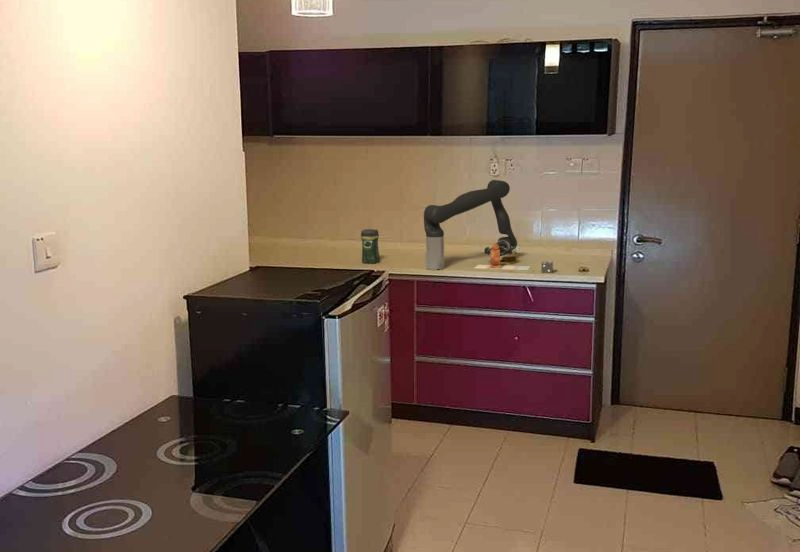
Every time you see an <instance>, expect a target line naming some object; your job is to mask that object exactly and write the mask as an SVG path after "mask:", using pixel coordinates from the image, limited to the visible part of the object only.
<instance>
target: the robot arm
mask: <svg viewBox="0 0 800 552" xmlns="http://www.w3.org/2000/svg"><path fill="white" fill-rule="evenodd" d="M486 186H487V187H486V188H482V189H475V190H470V191H467V192H465V193H462V194H460V195H458V196H457V197H456V198H454V200H453V201H452V202H448V203H446V204H442V205H435V204H430V205H427V206H426V207H425V209H424V211H423V228H424V232H425V238H426V239H425V241H426V244H425V245H426V246H425V247H426V250H425V254H424V255H425V257H424V258H425V270H430V271H431V270H432V271H437V269H440V270H443V269H445V233H444V232H445V231H444V230H443V228H442V227H441V226H440V224H442V223H444V222H446V221H447V220H449V219H451V218H453V217H455V216H457V215H461V214H463V213H466V212H468V211H471V210H473V209H476V208H478V207H480V206H482V205H485V204H487V203H491V206H492V209H493V212H494V215H495V218H496V224H497V230H498V233H499V234H501V235H506V236H502V237H499V238H498V240H497V242H496V243H495V244H498V245H499V249H500V257H503V256H506V255H512V254H513V253H514V252H513V248H511V246H515V247H516V248H517V246H518V240H517V238H516V236H515V235H514V231H513V229H512V226H511V220H510V217H509V214H508V212H507V210H506V208H505V207H504V204H503V201H502V199H504V198H505V197H506V196H508V194H510V189H511V187H510V185H509V183H508V182H507V181H504V180H498V179H491V180H490V181H488V183H487V185H486ZM491 250H492V246H491V247H489V246H487V247H485V248H484V254H486V255H487V256H489V255H490V254H491Z"/></svg>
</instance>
